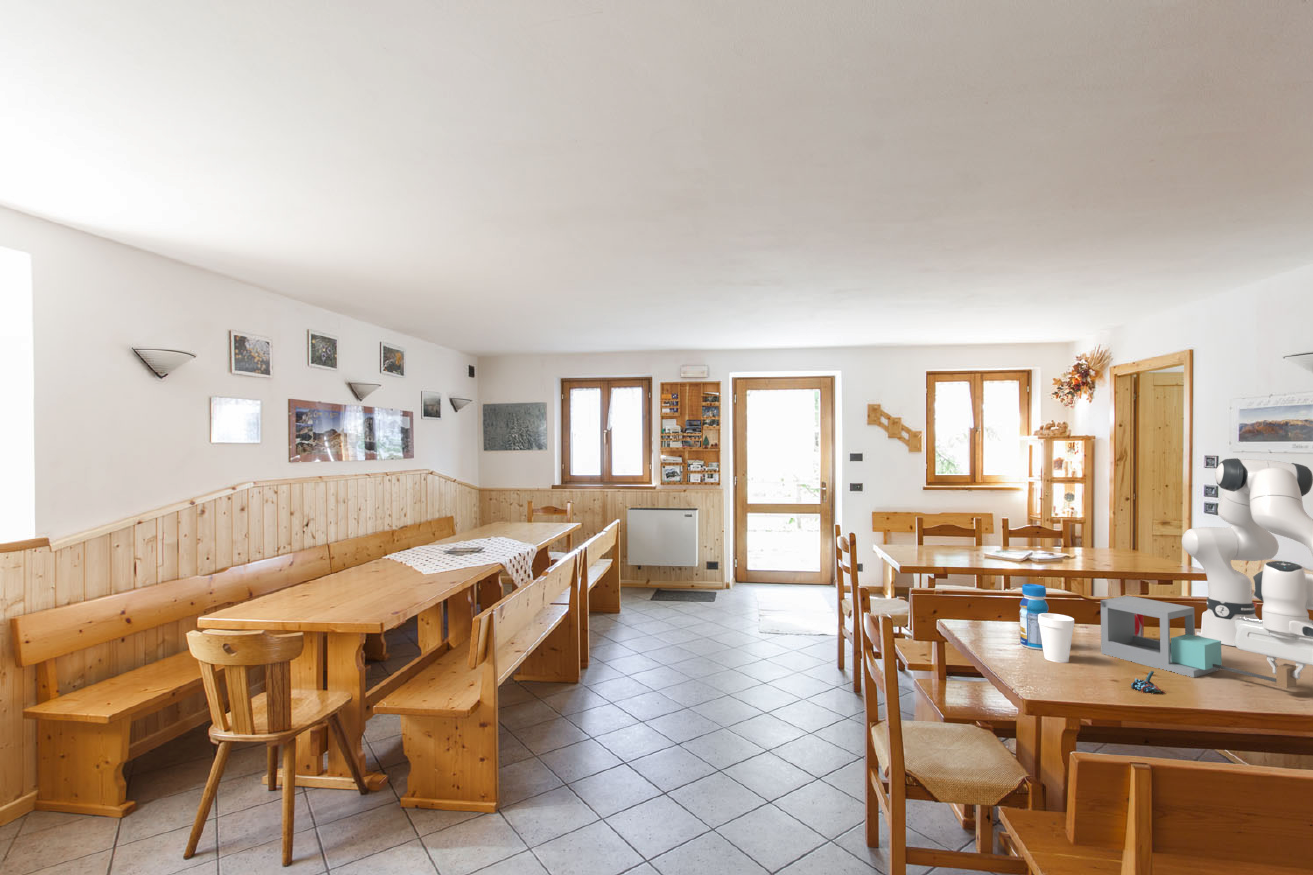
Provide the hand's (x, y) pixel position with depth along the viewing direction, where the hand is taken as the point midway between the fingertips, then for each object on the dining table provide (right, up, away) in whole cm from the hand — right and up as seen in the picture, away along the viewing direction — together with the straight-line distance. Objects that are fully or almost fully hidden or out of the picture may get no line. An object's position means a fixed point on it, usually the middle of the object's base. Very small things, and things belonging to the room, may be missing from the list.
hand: (1286, 675), depth 165 cm
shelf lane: (-13, -5, +26) cm, 29 cm away
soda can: (-5, -7, +48) cm, 49 cm away
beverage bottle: (-43, -6, +40) cm, 59 cm away
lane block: (-5, -3, +10) cm, 12 cm away
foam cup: (-44, -5, +27) cm, 52 cm away
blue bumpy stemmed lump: (-36, -5, +1) cm, 36 cm away
